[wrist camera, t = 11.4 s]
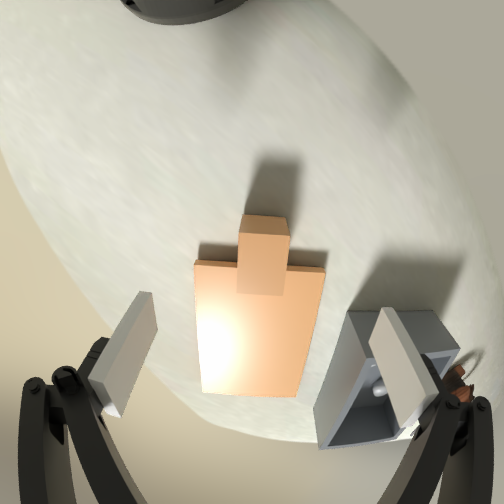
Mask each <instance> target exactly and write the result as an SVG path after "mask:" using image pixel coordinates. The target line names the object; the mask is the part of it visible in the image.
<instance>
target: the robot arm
mask: <svg viewBox="0 0 504 504" xmlns="http://www.w3.org/2000/svg"><path fill="white" fill-rule="evenodd" d="M120 1H121V2H122V3H123V5H124V6H125V7H126V8H127V9H129V10H130V11H131V12H132V13H134V14H135V15H136V16H138V17H139V18H141V19H143V20H145V21H148V22H151V23H156V24H161V25H184V24H192V23H197V22H202V21H205V20H209V19H212V18H215V17H218V16H220V15H223V14H225V13H227V12H229V11H231V10H233V9H235V8H237V7H238V6H240V5H241V4H243V3H244V2H246V1H247V0H120ZM157 331H158V328H157V323H156V317H155V311H154V304H153V298H152V293H150V292H142V291H139V293H138V294H137V296H136V297H135V299H134V301H133V302H132V304H131V305H130V307H129V308H128V310H127V312H126V313H125V315H124V316H123V318H122V320H121V321H120V323H119V325H118V326H117V328H116V330H115V331H114V333H113V335H112V336H111V338H104V337H101V338H100V339H99V340H97V341H96V342H95V343H94V344H93V346H92V347H91V349H90V351H89V352H88V354H87V357H85V359H84V361H83V362H82V364H81V366H80V367H79V369H78V371H76V369H75V368H73V367H71V366H62V367H60V368H58V369H57V370H55V371H54V373H53V375H52V382H53V384H54V385H46V384H45V382H44V381H43V379H41V378H39V377H34V378H30V379H29V380H27V381H26V382H25V384H24V387H23V392H22V400H21V409H20V419H19V436H18V474H19V475H18V476H19V491H20V501H21V504H77V503H76V499H75V493H74V487H73V481H72V474H71V467H70V457H69V445H68V430H67V425H68V428H69V431H70V434H71V438H72V441H73V443H74V446H75V449H76V452H77V455H78V458H79V460H80V463H81V465H82V468H83V470H84V472H85V475H86V477H87V480H88V482H89V484H90V486H91V489H92V491H93V493H94V495H95V497H96V499H97V501H98V503H99V504H147V502H146V501H145V499H144V497H143V496H142V494H141V492H140V491H139V489H138V487H137V486H136V484H135V483H134V481H133V479H132V477H131V475H130V473H129V472H128V470H127V468H126V466H125V464H124V462H123V460H122V458H121V456H120V454H119V452H118V451H117V448H116V446H115V444H114V442H113V440H112V438H111V436H110V433H109V431H108V429H107V426H106V424H105V422H104V419H103V417H102V415H101V412H102V410H103V408H104V409H105V411H106V413H107V414H109V415H113V416H116V417H119V418H121V417H122V415H123V412H124V410H125V407H126V404H127V402H128V399H129V397H130V394H131V392H132V389H133V387H134V384H135V382H136V380H137V377H138V375H139V372H140V370H141V368H142V365H143V363H144V360H145V358H146V356H147V353H148V351H149V349H150V346H151V344H152V342H153V340H154V337H155V335H156V333H157ZM369 345H370V347H371V350H372V352H373V355H374V357H375V360H376V363H377V365H378V368H379V370H380V373H381V376H382V378H383V381H384V384H385V386H386V389H387V392H388V395H389V398H390V400H391V403H392V406H393V409H394V412H395V415H396V418H397V421H398V424H399V427H400V428H404V427H409V426H412V425H413V424H414V423H415V422H416V421H417V420H418V421H419V423H420V425H419V426H418V427H417V428H416V429H415V430H414V431H413V432H412V433H411V435H410V436H412V435H413V434H414V433H415V434H414V436H413V438H412V441H411V443H410V445H409V447H408V449H407V451H406V454H405V455H404V457H403V459H402V461H401V463H400V465H399V467H398V469H397V471H396V473H395V475H394V476H393V478H392V480H391V482H390V483H389V485H388V487H387V488H386V490H385V492H384V493H383V495H382V497H381V498H380V500H379V501H378V503H377V504H429V502H430V500H431V498H432V496H433V494H434V491H435V489H436V487H437V484H438V482H439V480H440V477H441V475H442V472H443V475H442V482H441V488H440V493H439V498H438V503H437V504H491V497H492V487H493V471H494V440H493V422H492V411H491V405H490V402H489V401H488V400H487V399H486V398H485V397H482V396H478V397H476V398H475V399H474V400H473V401H472V402H461V401H460V399H459V398H458V397H457V396H455V395H454V394H449V393H448V391H447V389H446V387H445V385H444V383H443V382H442V380H441V378H440V376H439V374H438V372H437V370H436V368H435V366H434V365H433V363H432V361H431V359H430V358H429V357H427V356H426V355H425V354H419V352H418V350H417V349H416V347H415V345H414V343H413V341H412V340H411V338H410V336H409V334H408V332H407V331H406V329H405V327H404V326H403V324H402V322H401V320H400V319H399V317H398V315H397V314H396V312H395V310H394V309H393V307H382V308H381V311H380V314H379V316H378V319H377V322H376V324H375V327H374V329H373V332H372V334H371V337H370V339H369Z"/></svg>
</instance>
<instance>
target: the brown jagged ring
mask: <svg viewBox="0 0 504 504" xmlns="http://www.w3.org/2000/svg"><path fill="white" fill-rule="evenodd" d="M464 374H465V370H464V369H463V368H462V366H461V365H458V366H456V367H455V368H454V369H452V370H450V371H448V372H446V374H445V375H444V377H443V378H442V382H443V383H444V385H445V387H446V389H447V391H448V393H449V394H454V395H455V396H457V397H458V398H459V399H460V401H461V402H472V401H473V400H474V398H475V396H473V391H474V384H472V385H471V384H470V386H468V385H466V384H465V383H464V382H463V380H462V379H461V377H462V376H463V375H464ZM465 385H466V386H465Z"/></svg>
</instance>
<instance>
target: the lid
mask: <svg viewBox="0 0 504 504" xmlns="http://www.w3.org/2000/svg"><path fill="white" fill-rule="evenodd" d="M289 244H290V233H289V229H288V226H287V222H286V219H285V217H274V216H259V215H242V219H241V224H240V229H239V239H238V262H224V261H209V260H196V261H195V263H194V284H195V303H196V319H197V333H198V346H199V358H200V369H201V379H202V389H203V392H207V393H216V394H227V395H240V396H258V397H296V395H297V391H298V388H299V384H300V381H301V377H302V373H303V370H304V366H305V362H306V358H307V354H308V350H309V346H310V342H311V338H312V334H313V330H314V326H315V321H316V317H317V312H318V308H319V303H320V299H321V294H322V289H323V284H324V279H325V274H326V273H325V270H324V268H322V267H305V266H288V265H287V261H288V253H289Z"/></svg>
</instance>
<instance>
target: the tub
mask: <svg viewBox="0 0 504 504" xmlns="http://www.w3.org/2000/svg"><path fill="white" fill-rule="evenodd" d="M395 312H396V314H397V315H398V317H399V319H400V320H401V322H402V324H403V326H404V327H405V329H406V331H407V332H408V334H409V336H410V338H411V340H412V341H413V343H414V345H415V347H416V349H417V350H418V352H419V354H425V355H426V356H427V357H429V358H430V359H431V361H432V363H433V365H434V366H435V368H436V370H437V372H438V374H439V376H440V378H441V380H442V378H443V377H444V375H445V374H446V372H447V371H448V369H449V367H450V366H451V364H452V362H453V361H454V359H455V357H456V356H457V354H458V352H459V351H460V349H461V348H460V347H459V345H458V344H457V342H456V341H455V340H454V338H453V337H452V336H451V334H450V333H449V331H448V330H447V329H446V327H445V326H444V325H443V323H442V322H441V321H440V319H439V318H438V317H437V316H436V314H435V313H434V312H433V310H431V311H395ZM379 314H380V311H347V313H346V317H345V320H344V323H343V326H342V330H341V333H340V336H339V339H338V342H337V345H336V348H335V351H334V354H333V357H332V360H331V363H330V366H329V369H328V372H327V374H326V377H325V380H324V382H323V385H322V388H321V390H320V393H319V396H318V398H317V401H316V403H315V406H314V408H313V411H314V418H315V425H316V433H317V440H318V447H319V450H323V449H335V448H344V447H352V446H360V445H366V444H372V443H379V442H384V441H389V440H394V439H397V437H398V436H399V435H400V434H401V433H402V432H403V431H404V429H405V428H406V427H404V428H400V427H399V424H398V421H397V418H396V415H395V412H394V409H393V406H392V403H391V400H390V398H389V395H388V392H387V389H386V386H385V384H384V381H383V378H382V376H381V373H380V370H379V368H378V365H377V363H376V360H375V357H374V355H373V352H372V350H371V347H370V345H369V339H370V337H371V334H372V332H373V329H374V327H375V324H376V322H377V319H378V316H379Z"/></svg>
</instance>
